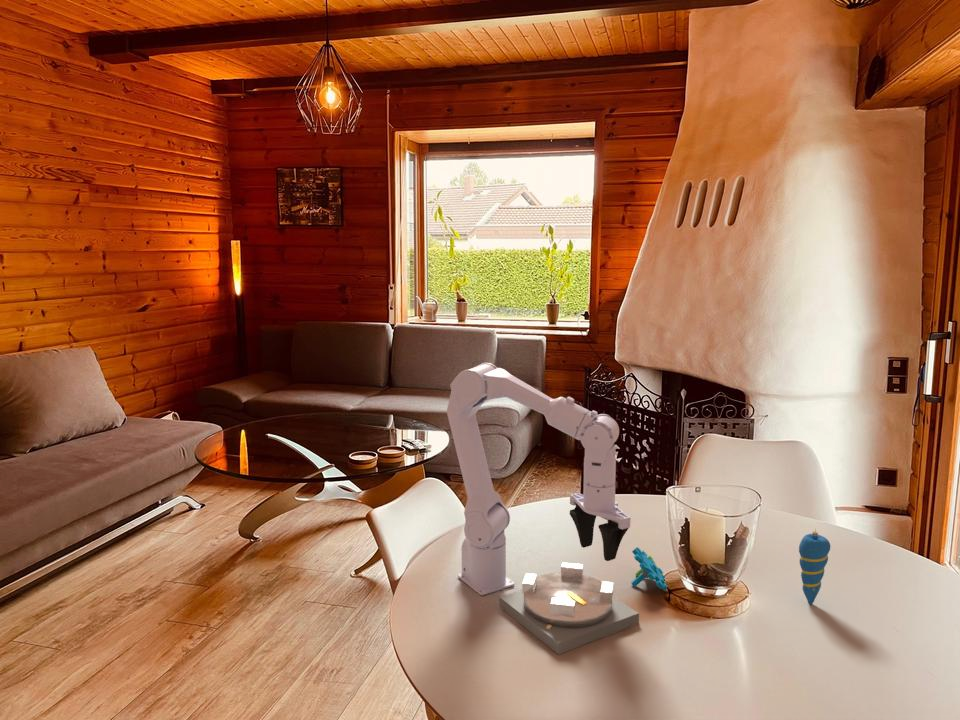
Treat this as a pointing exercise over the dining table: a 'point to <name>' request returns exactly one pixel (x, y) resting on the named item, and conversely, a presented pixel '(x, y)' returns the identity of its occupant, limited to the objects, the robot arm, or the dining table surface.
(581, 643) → the base plate
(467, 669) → the dining table surface
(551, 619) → the lugged metal disc
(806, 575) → the ornament
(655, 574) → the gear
